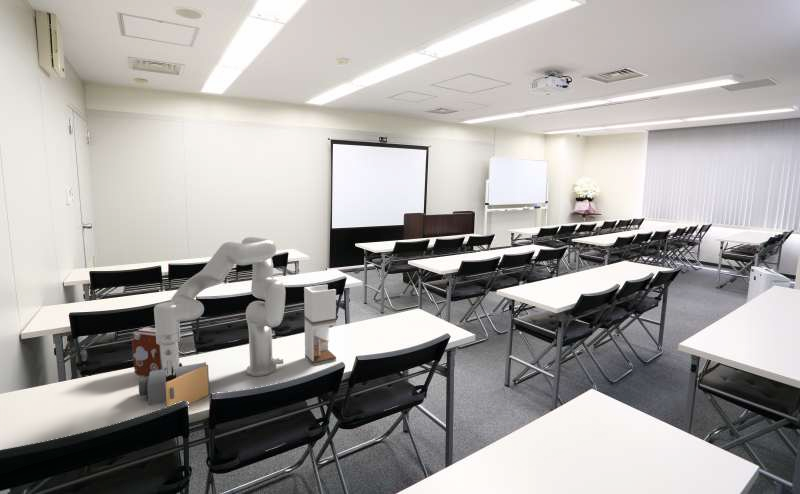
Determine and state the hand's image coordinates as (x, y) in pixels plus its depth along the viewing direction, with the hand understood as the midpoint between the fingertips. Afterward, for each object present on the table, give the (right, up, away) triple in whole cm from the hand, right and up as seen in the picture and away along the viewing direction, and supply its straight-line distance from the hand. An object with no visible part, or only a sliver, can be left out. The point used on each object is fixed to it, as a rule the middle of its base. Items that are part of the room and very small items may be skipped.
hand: (171, 384), depth 145 cm
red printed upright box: (-21, -5, +27) cm, 34 cm away
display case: (+45, -4, +45) cm, 64 cm away
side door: (+5, -9, +4) cm, 11 cm away
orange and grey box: (-5, -7, +12) cm, 15 cm away
